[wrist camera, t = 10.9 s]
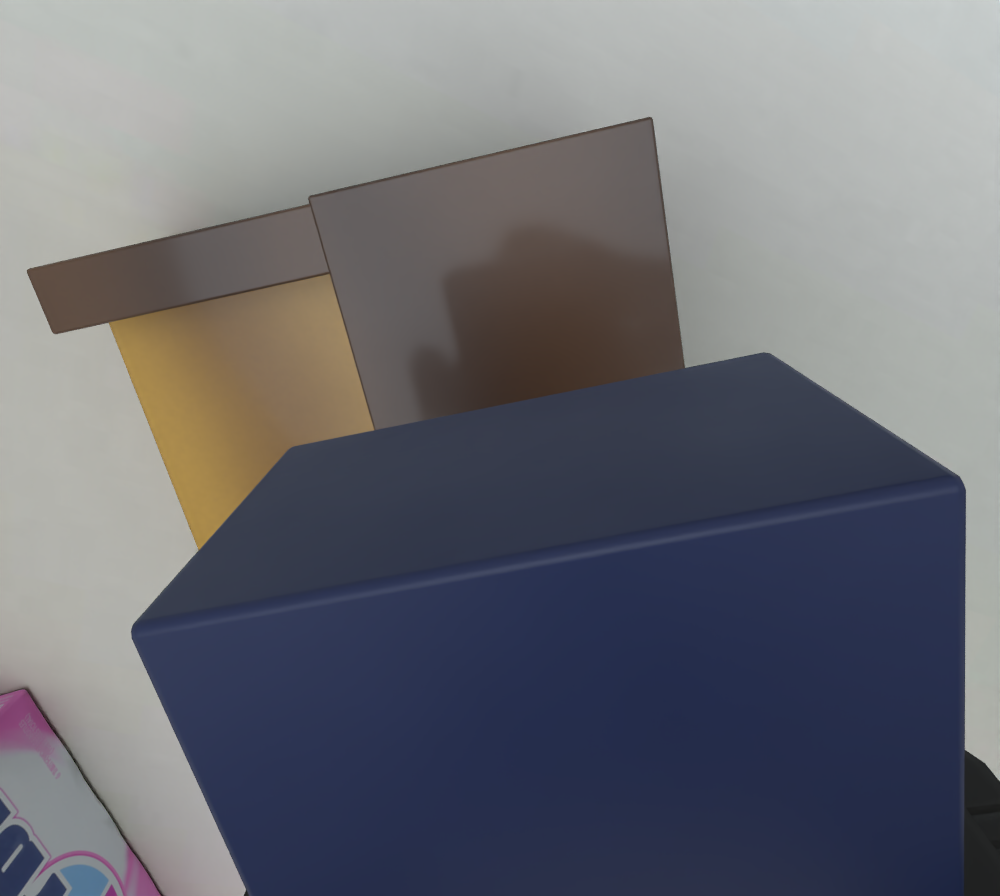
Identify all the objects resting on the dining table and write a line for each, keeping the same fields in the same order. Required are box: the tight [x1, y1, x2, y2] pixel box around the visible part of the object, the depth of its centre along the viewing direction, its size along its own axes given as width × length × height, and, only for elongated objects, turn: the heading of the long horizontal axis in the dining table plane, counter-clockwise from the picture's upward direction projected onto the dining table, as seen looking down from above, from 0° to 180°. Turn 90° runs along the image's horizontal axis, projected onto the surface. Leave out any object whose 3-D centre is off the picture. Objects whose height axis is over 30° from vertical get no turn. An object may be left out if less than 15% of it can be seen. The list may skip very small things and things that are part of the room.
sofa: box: [27, 117, 685, 550], centre depth 25 cm, size 18×16×13 cm
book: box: [131, 352, 966, 896], centre depth 9 cm, size 6×11×4 cm, turn 12°
